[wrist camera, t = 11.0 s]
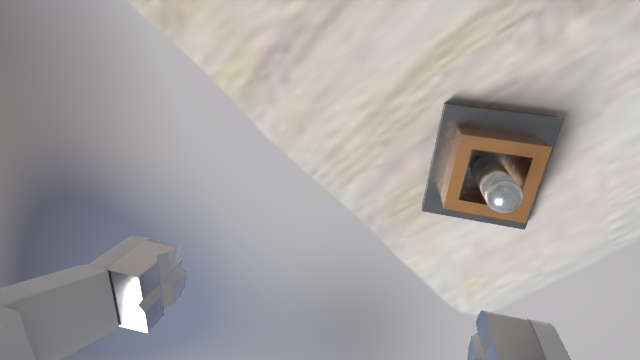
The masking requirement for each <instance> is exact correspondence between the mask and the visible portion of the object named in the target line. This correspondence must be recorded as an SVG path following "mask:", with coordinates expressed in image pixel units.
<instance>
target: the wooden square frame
mask: <svg viewBox="0 0 640 360" xmlns="http://www.w3.org/2000/svg"><path fill="white" fill-rule="evenodd" d="M472 149H476V150H483V151H490V152H497V153H504V154H510V155H517V156H519V158H518V161H517V164H516V167H515V170H514V174H513V177H512V178H513V179H514V180H515V182H516V183H517V184H518V186H519V187H520V188H521V190H522V194H523V199H522V202H521V204H520V205H519V207H518V208H517V209H515V210H514V211H511V212H507V213H501V212H497V211H494V210H493V209H491V208H490V207H489V206H488V205H487V203H486V201H485V199H484V197H483V195H482V193H481V191H476V190H470V189H464V188H462V185H463V181H464V177H465V174H466V170H467V166H468V162H469V158H470V155H471V151H472ZM551 150H552V147H551V146H550V145H549V144H547V143H546V142H544V141H543V140H541V139H540V138H537V137H530V136H522V135H515V134H508V133H500V132H493V131H485V130H478V129H471V128H463V127H457V129H456V133H455V137H454V141H453V145H452V150H451V154H450V158H449V162H448V166H447V170H446V174H445V179H444V183H443V187H442V191H441V200H442V205H443V209H449V210H454V211H460V212H465V213H471V214H477V215H482V216H488V217H493V218H499V219H504V220H510V221H516V222H521V223H526V220H527V218H528V215H529V212H530V209H531V206H532V203H533V201H534V198H535V195H536V192H537V189H538V186H539V184H540V181H541V178H542V175H543V172H544V169H545V167H546V164H547V161H548V158H549V155H550V152H551Z"/></svg>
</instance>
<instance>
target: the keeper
mask: <svg viewBox="0 0 640 360" xmlns="http://www.w3.org/2000/svg"><path fill="white" fill-rule="evenodd" d="M562 122H563V119H562V118H560V117H556V116H548V115H540V114H531V113H523V112H515V111H506V110H498V109H490V108H481V107H473V106H465V105H456V104H448V103H444V107H443V111H442V116H441V120H440V125H439V130H438V134H437V139H436V143H435V148H434V153H433V157H432V162H431V166H430V171H429V176H428V180H427V185H426V189H425V194H424V199H423V203H422V211H424V212H430V213H436V214H441V215H447V216H452V217H458V218H463V219H469V220H475V221H480V222H486V223H491V224H497V225H502V226H508V227H514V228H519V229H525V228H526V225H527V222H528V219H529V216H530V214H531V211H532V208H533V205H534V202H535V199H536V196H537V194H538V191H539V188H540V185H541V182H542V179H543V176H544V173H545V171H546V168H547V165H548V162H549V159H550V156H551V153H552V151H553V148H554V145H555V142H556V139H557V136H558V133H559V131H560V128H561V125H562ZM457 127H463V128H471V129H478V130H485V131H493V132H500V133H508V134H515V135H522V136H530V137H537V138H540V139H541V140H543V141H544V142H546V143H547V144H549V145H550V146H551V147H552V150H551V152H550V155H549V158H548V161H547V164H546V167H545V169H544V172H543V175H542V178H541V181H540V184H539V186H538V189H537V192H536V195H535V198H534V201H533V203H532V206H531V209H530V212H529V215H528V218H527V220H526V223H521V222H516V221H510V220H504V219H499V218H493V217H488V216H482V215H477V214H471V213H465V212H460V211H454V210H449V209H443V205H442V200H441V191H442V187H443V183H444V179H445V174H446V170H447V166H448V162H449V158H450V154H451V150H452V145H453V141H454V137H455V133H456V129H457ZM518 158H519V156H517V155H510V154H504V153H497V152H490V151H483V150H476V149H472V151H471V155H470V158H469V162H468V166H467V170H466V174H465V177H464V181H463V185H462V188H464V189H470V190H476V191H481V193H482V195H483V197H484V199H485V201H486V203H487V205H488V206H489V207H490V208H491V209H493V210H494V211H497V212H501V213H507V212H511V211H514V210H515V209H517V208H518V207H519V205H520V204H521V202H522V199H523V194H522V190H521V188H520V187H519V186H518V184H517V183H516V182H515V180H514V179H513V178H512V177H513V174H514V170H515V167H516V164H517V161H518Z"/></svg>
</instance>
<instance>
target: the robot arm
mask: <svg viewBox="0 0 640 360" xmlns="http://www.w3.org/2000/svg"><path fill="white" fill-rule="evenodd" d="M183 260H184V252H183V248H181V247H180V246H178V245H174V244H169V243H165V242H161V241H157V240H152V239H147V238H143V237H139V236H131V237H129V238H127V239H125V240H124V241H122V242H121V243H120V244H118V245H117V246H115V247H114V248H112V249H111V250H109V251H108V252H106V253H105V254H103V255H102V256H100V257H99V258H97V259H96V260H95V261H93V262H92V263H90V264H89V265H87V266H85V265H79V266H76V267H72V268H69V269H65V270H62V271H59V272H55V273H52V274H48V275H45V276H41V277H38V278H34V279H31V280H27V281H24V282H21V283H17V284H14V285H10V286H7V287H4V288H0V360H61V359H62V358H64V357H66V356H68V355H70V354H72V353H74V352H76V351H77V350H79V349H81V348H83V347H85V346H87V345H88V344H90V343H92V342H94V341H96V340H98V339H100V338H102V337H103V336H105V335H107V334H109V333H111V332H113V331H115V330H116V329H118V328H119V327H120V326H122V327H126V328H130V329H134V330H138V331H142V332H147V333H148V332H149V331H150V330H151V328H153V326H154V325H155V324H156V323H157V322H158V321H159V320H160V319H161V318H162V317H163V315H164V308H166V307H168V306H170V305H172V304H174V303H175V302H176V301H177V300H178V299H179V298H180V297H181V295H182V292H183V290H184V288H185V285H186V271H185V270H184V268H183V267H182V265H181V263H182V261H183ZM476 325H477V330H478V333H477V334H475V335H474V336H472V337H471V341H470V344H469V349H468V360H571V359H570V357H569V355H568V353H567V351H566V349H565V347H564V345H563V343H562V341H561V339H560V337H559V335H558V333H557V331H556V329H555V327H554V326H553V325H551V324H550V323H545V322H540V321H534V320H529V319H526V320H525V319H521V318H516V317H512V316H507V315H502V314H497V313H492V312H487V311H483V310H481V312H480V313H479V315H478V318H477V321H476Z"/></svg>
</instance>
